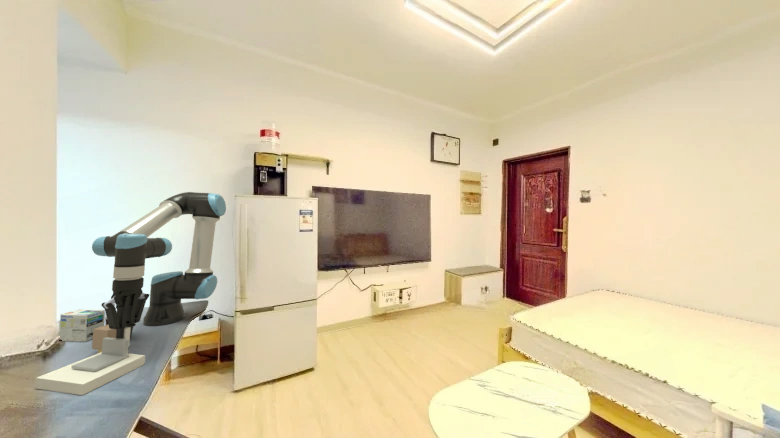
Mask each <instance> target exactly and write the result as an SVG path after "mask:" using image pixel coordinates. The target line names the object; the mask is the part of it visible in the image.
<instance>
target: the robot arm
mask: <svg viewBox="0 0 780 438" xmlns="http://www.w3.org/2000/svg"><path fill="white" fill-rule="evenodd" d="M226 210H227V203H226V201H225V199H224V196H222V195H220V194H218V193H213V192H196V191H195V192H193V191H187V192H186V191H185V192H181V193H178V194H175V195H172V196H170V197H168V198H166V199H164V200H163V201H161V202H159V205H158V207H156V208H155V209H152V210H151V211H150V212H148V213H146V214H145V215H143V216H142V217H140V218H139V219H137V220H136V221H134V222H132V223H130V224H129V225H128V226H126V227H125V228H123V229H121V230H120V231H119V232H117V233H115V234H113V235H112V236H110V235H105V236H99V237H97V238H96V239H95V240H94V241H93V243H92V245H91V249H92V253H94V254H95V255H96V256H99V257H108V258H111V257H113V258H114V266H113V273H112V274H113V277H112V278H113V280H112V284H111V285H112V287H111V290H112V295H111V297H110V299H109V300H108V301H106V302H102V303H101V307H102V308H103V310H105V316H106V317H107V321H108V325H109V328H110V329H116V330H117V331H116V338H119V339H128V340H129V343H130V341H131V339H130V335H131V336H132V334H133V330H132V329H134V327H135V326H136V325H137V323H140V321H141V318H142V315H143V312H144V308H145V305H146V303H147V300H148V299H149V304H148V305H149V306H148V309H147V311H146V312H145V313H146V314H145V315H144V317H143V320H142V324H143V325H145V326H149V327H150V326H154V327H155V326H162V325H168V324H172V323H173V324H174V323H176V322H179V321H181V320H182V319H184V318H185V311H184V308H183V304H182V300H204V299H208V298H210V297H211V296H212V295H213V293H214V292H215V290H216V288H217V285H218V277H217V276H216V275H215V274H214V271H213V269H212V268H211V263H212V256H213V255H212V254H213V248H214V247H213V246H214V239H215V232H216V224H217V222H218V221H220V220H221V219H220V217H223V216H224V215H225V214H226V212H227V211H226ZM184 215H191V216H192V217H191V218H192V219H193V220H194V221H195V223H194V229H193V237H192V244H191V252H190V260H189V266H188V267H189V268H188V269H187V270H185V271H184V272H183V271H178V270H177V271H170V272H164V273H158V274H156V275H153V276H152V278H151V281H150V293H144V292H143V287H144V281H145V279H144V276H145V271H146V269H145V266H146V259H152V258H161V257H164V256H167V255H169V254H170V253H171V252H172V250H173V243H172V241H171V240H169V239H168V238H166V237H150V236H151V235H153V234H154V233H155V232H156V231H158V230H160V229H161V228H162V227H163V226H165V225H166V224H167V223H169V222H171V220H173V219H177V218H180V217H181V216H184ZM128 347H130V344H129V345H128Z"/></svg>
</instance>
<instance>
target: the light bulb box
mask: <svg viewBox="0 0 780 438" xmlns="http://www.w3.org/2000/svg"><path fill="white" fill-rule="evenodd" d="M105 316H106V312H105V309H83V308H81V309H75V310H72V311H71V310H70V311H68V312H63V313H61V314H60V317H59V318H60V319H59V329H58V330H59V332H58V337H59V336H60V339H61V340H62V341H61V342H76V343H77V342H79V343H80V342H83V343H86V342H88V341H90V340H91V341H92V340H93V329H95V328H98V327H102V326H105Z"/></svg>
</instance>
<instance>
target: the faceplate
mask: <svg viewBox="0 0 780 438" xmlns="http://www.w3.org/2000/svg"><path fill="white" fill-rule="evenodd" d="M100 354H102V352H101V353H98V352H97V353H95V354H94V355H93V354H92V355H90V356H88V357H86V358H82V359H81V360H78V361H75V362H72V363H70V364H68V365H65V366H63V367H60V368H57V369H55V370H53V371H50V372H48V373H45V374H42V375H39V376H37V377H35V385H34V389H36V390H38V389H39V390H42V391H44V390H45V391H51V392H56V393H64V394H65V393H66V394H72V395H78V396H84V395H85V394H88V393H89V392H92V391H94V390H96V389H98V388H100V387H102V386H104V385H105V384H109V383H110V382H112V381H114V380H115V379H118V378H120V377H121V376H124V375H126V374H128V373H130V372H131V371H132V372H133V371H134V370H135V369H138V368H140V367H142V366H143V365H145V363H146V362H145V361H146V355H145V354H144V355H143V354H137V353H129V352H128V357H127V358H124V359H122V360H120V361H118V362H115V363H113V364H111V365H109V366H106V367H104V368H102V369H100V370H97V371H88V370H80V369H72V368H71V367H72V365H75V364H77V363H80V362H82V361H85V360H87V359H90V358H92V357H95V356H97V355H100Z"/></svg>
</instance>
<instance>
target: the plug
mask: <svg viewBox="0 0 780 438" xmlns="http://www.w3.org/2000/svg"><path fill="white" fill-rule="evenodd" d="M116 331H117V330H116V329H110V328H109V325H106V324H104V326H102V327H98V328H95V329H93V339H92V340H91V341H92V343H91V344H92V345H91V349H92V350H97V354H98V353H101V352H102V343H103V339H104V338H106V337H110V338H116Z"/></svg>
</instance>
